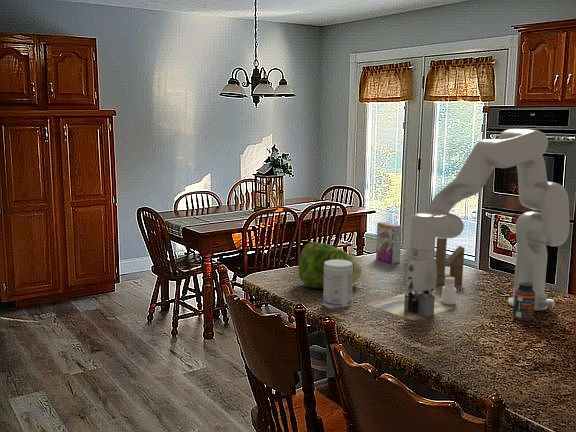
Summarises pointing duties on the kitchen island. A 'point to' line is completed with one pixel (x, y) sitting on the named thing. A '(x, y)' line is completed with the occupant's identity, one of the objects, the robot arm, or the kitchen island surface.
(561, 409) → the kitchen island surface
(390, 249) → the candy bar box
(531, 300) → the supplement bottle
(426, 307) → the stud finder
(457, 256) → the wooden letter
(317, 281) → the lettuce
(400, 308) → the plywood panel
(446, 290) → the pepper shaker
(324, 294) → the supplement tub
